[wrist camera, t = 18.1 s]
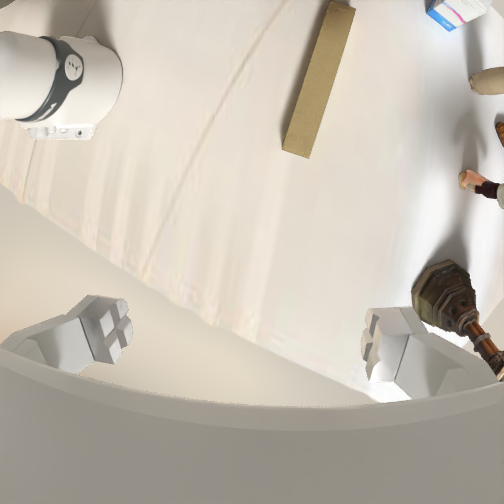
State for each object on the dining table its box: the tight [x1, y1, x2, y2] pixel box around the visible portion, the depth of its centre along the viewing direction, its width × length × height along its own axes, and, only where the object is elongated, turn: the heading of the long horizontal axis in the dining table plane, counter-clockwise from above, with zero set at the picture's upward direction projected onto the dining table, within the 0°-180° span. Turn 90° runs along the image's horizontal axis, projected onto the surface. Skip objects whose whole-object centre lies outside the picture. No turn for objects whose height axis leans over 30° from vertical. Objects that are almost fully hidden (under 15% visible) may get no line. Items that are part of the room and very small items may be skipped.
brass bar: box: [282, 0, 356, 159], centre depth 34 cm, size 4×23×4 cm, turn 163°
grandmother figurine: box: [459, 169, 504, 209], centre depth 31 cm, size 8×4×13 cm, turn 103°
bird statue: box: [411, 260, 504, 382], centre depth 28 cm, size 17×13×35 cm
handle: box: [469, 67, 504, 95], centre depth 24 cm, size 5×6×15 cm
